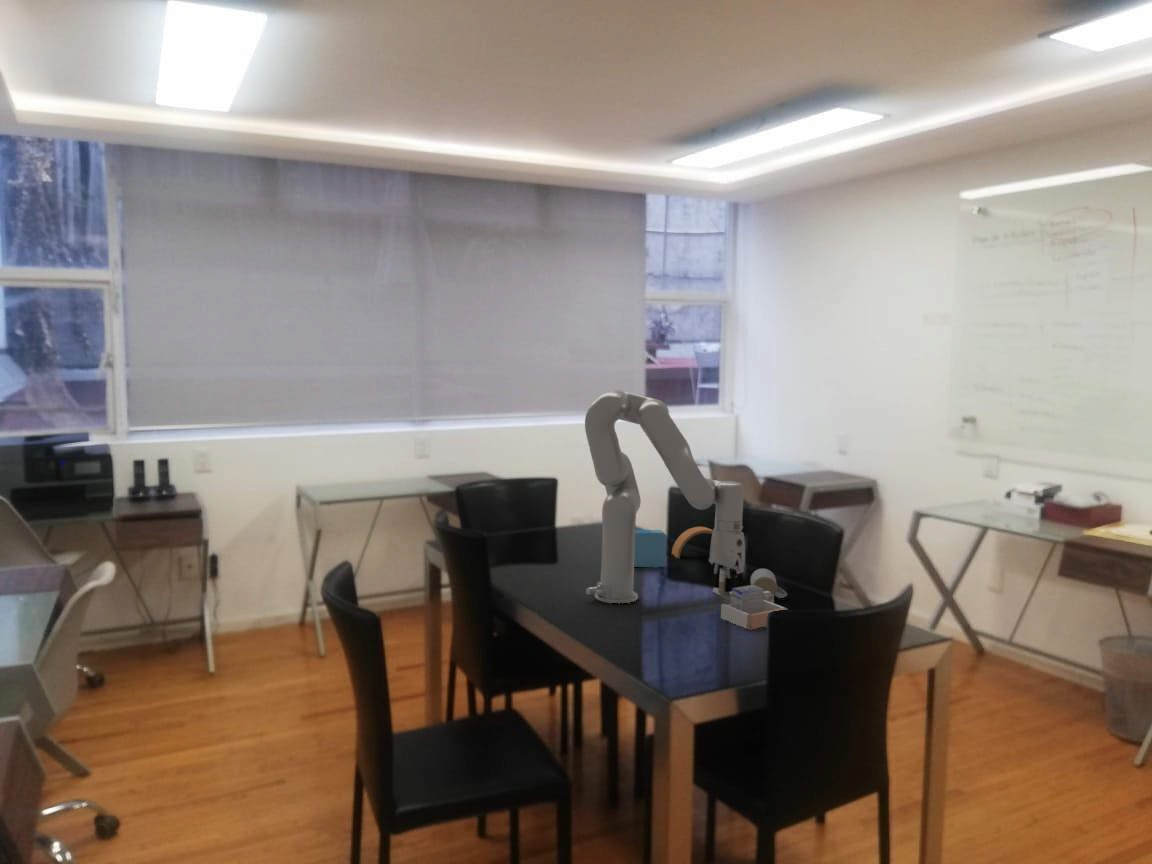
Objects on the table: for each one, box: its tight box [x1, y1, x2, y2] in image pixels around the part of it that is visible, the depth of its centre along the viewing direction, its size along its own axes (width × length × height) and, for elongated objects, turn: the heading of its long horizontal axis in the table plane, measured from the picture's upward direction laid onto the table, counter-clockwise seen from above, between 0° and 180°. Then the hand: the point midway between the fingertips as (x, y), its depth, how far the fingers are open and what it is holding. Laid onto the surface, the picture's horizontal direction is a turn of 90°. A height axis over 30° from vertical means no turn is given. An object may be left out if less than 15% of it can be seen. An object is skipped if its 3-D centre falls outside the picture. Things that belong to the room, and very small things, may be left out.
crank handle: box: [719, 567, 775, 606], centre depth 246 cm, size 16×11×11 cm
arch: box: [671, 526, 714, 559], centre depth 308 cm, size 6×20×10 cm, turn 103°
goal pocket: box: [720, 600, 789, 629], centre depth 237 cm, size 14×11×4 cm
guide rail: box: [712, 586, 732, 596], centre depth 255 cm, size 2×20×2 cm, turn 33°
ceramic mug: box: [749, 568, 788, 599], centre depth 261 cm, size 11×8×8 cm
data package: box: [634, 529, 668, 568], centre depth 290 cm, size 12×4×12 cm, turn 97°
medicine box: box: [730, 584, 764, 614], centre depth 239 cm, size 8×4×9 cm, turn 123°
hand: (724, 588), depth 247 cm, fingers closed on crank handle, 3 cm apart
